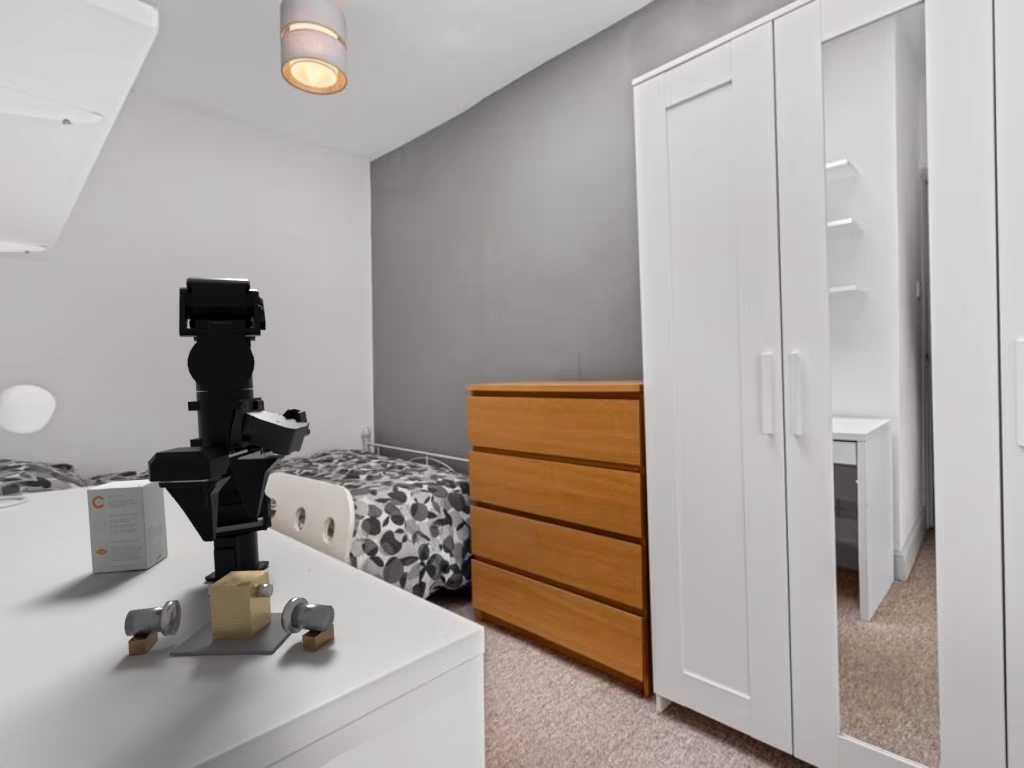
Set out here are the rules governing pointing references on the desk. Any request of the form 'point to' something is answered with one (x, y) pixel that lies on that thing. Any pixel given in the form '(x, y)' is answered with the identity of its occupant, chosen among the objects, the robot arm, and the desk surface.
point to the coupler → (240, 605)
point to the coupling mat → (234, 641)
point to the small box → (127, 525)
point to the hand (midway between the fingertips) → (233, 528)
